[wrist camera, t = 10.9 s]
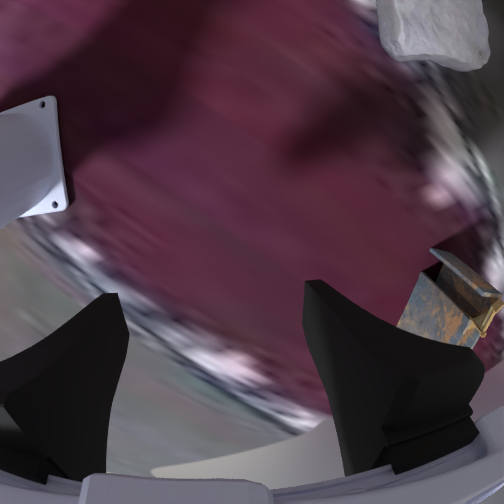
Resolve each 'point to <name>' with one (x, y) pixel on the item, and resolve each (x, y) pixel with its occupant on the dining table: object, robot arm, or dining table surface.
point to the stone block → (435, 32)
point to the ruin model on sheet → (451, 304)
